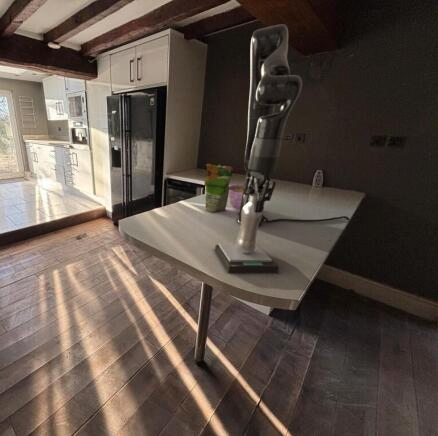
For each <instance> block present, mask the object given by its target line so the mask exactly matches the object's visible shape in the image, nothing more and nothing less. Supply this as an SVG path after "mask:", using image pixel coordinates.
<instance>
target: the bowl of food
mask: <svg viewBox="0 0 438 436" xmlns="http://www.w3.org/2000/svg"><path fill="white" fill-rule="evenodd" d="M243 189H244V184H232V185H229V194H228V202H229V204H230V206H231V207H232V208H234V209H235V210H236V211H238V212H239V211H240V205H241V200H242V195H243Z"/></svg>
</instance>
